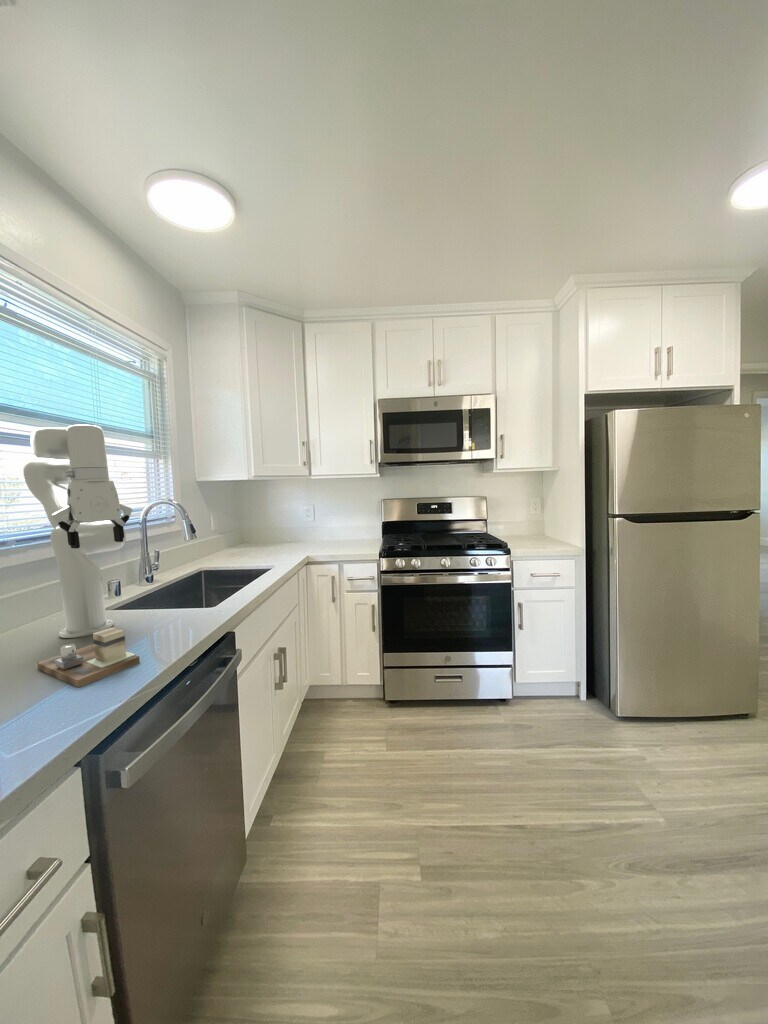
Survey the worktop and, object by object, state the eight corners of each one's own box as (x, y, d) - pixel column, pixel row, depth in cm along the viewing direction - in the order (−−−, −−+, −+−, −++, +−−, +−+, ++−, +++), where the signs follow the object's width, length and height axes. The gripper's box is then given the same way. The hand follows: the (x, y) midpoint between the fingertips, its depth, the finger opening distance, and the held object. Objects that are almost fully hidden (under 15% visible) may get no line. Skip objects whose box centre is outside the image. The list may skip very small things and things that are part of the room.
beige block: (95, 659, 89) (92, 633, 89) (115, 652, 93) (112, 627, 92) (106, 663, 87) (103, 636, 86) (126, 656, 90) (123, 630, 90)
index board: (37, 669, 90) (36, 662, 90) (97, 648, 101) (96, 642, 101) (78, 687, 80) (77, 680, 80) (139, 662, 90) (139, 655, 90)
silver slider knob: (56, 666, 87) (53, 647, 86) (75, 659, 90) (73, 641, 89) (64, 669, 85) (61, 651, 84) (83, 662, 88) (81, 644, 87)
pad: (86, 662, 89) (86, 661, 89) (120, 650, 95) (119, 649, 95) (101, 668, 85) (101, 667, 85) (135, 655, 91) (135, 654, 91)
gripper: (54, 475, 89) (63, 551, 90) (135, 474, 104) (141, 539, 105) (40, 477, 93) (49, 550, 94) (120, 476, 108) (127, 539, 109)
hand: (98, 544), depth 99 cm, fingers open, 9 cm apart
